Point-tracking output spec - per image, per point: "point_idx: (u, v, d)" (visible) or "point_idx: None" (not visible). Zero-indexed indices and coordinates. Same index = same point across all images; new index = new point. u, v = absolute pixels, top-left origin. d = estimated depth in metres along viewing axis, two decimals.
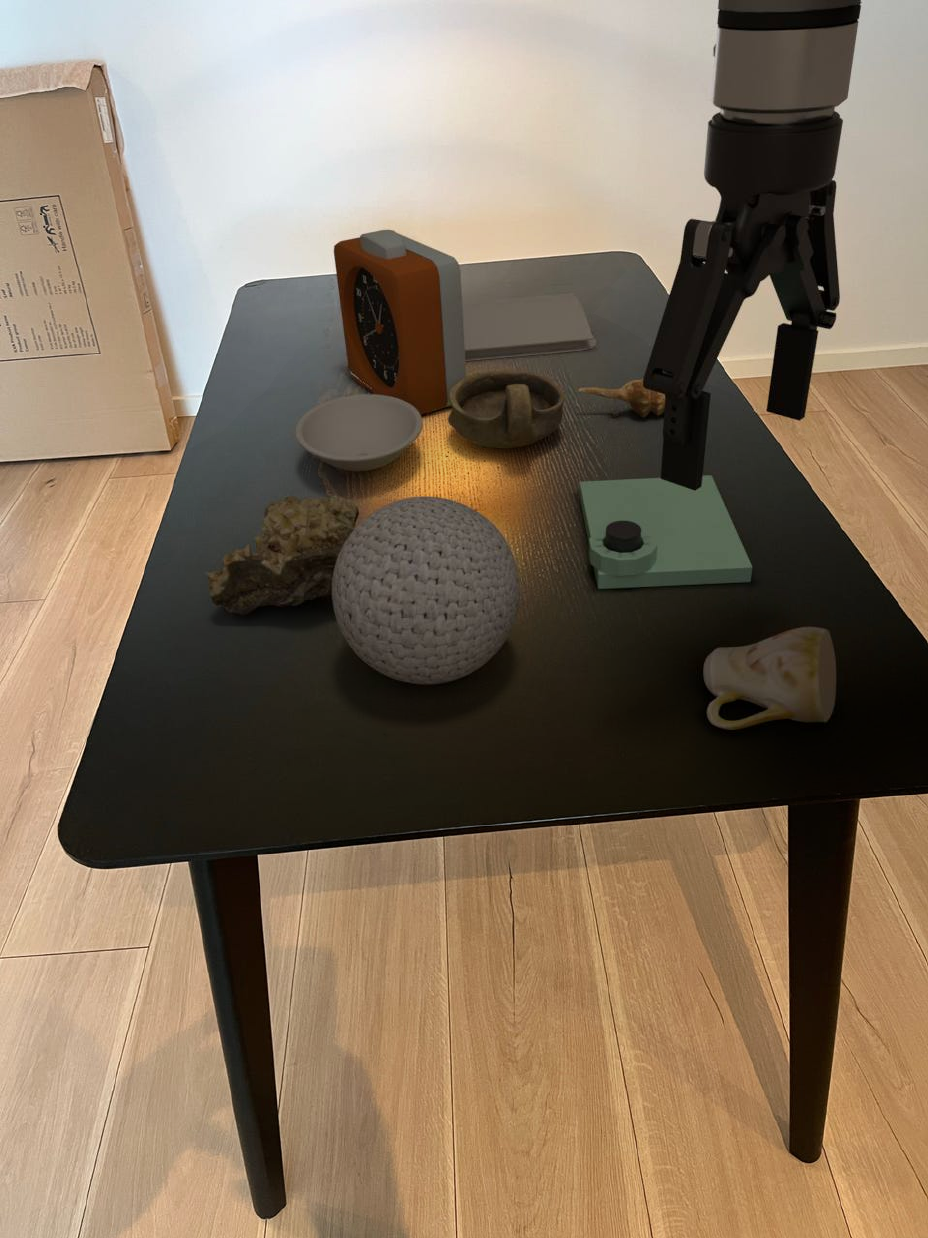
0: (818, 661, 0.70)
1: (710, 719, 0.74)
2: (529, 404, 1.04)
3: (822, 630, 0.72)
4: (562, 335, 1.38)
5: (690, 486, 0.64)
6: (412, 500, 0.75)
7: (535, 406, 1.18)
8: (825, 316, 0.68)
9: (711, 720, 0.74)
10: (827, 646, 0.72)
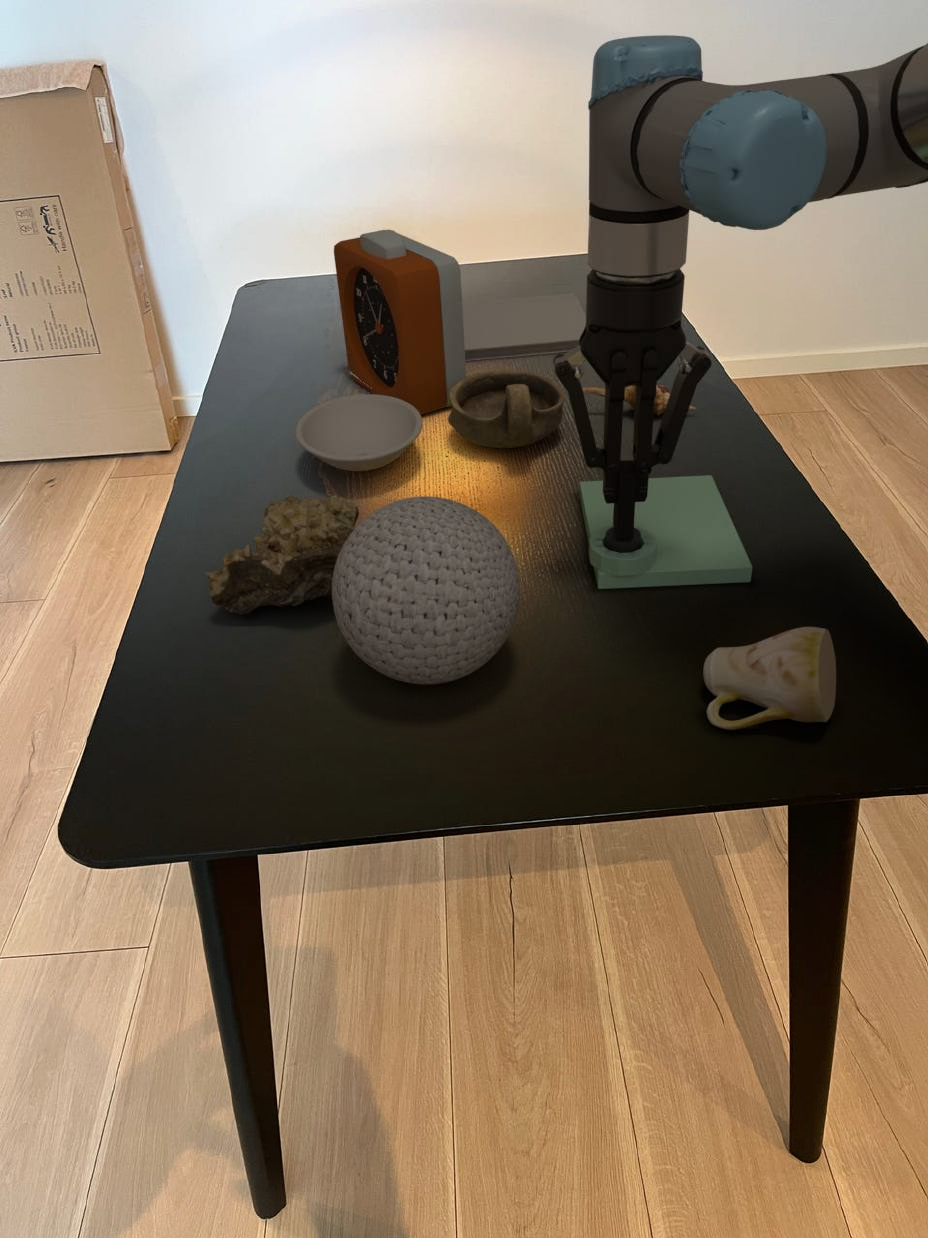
0: (818, 661, 0.70)
1: (710, 719, 0.74)
2: (529, 404, 1.04)
3: (822, 630, 0.72)
4: (562, 335, 1.38)
5: (616, 535, 0.88)
6: (412, 500, 0.75)
7: (535, 406, 1.18)
8: (645, 466, 0.84)
9: (711, 720, 0.74)
10: (827, 646, 0.72)
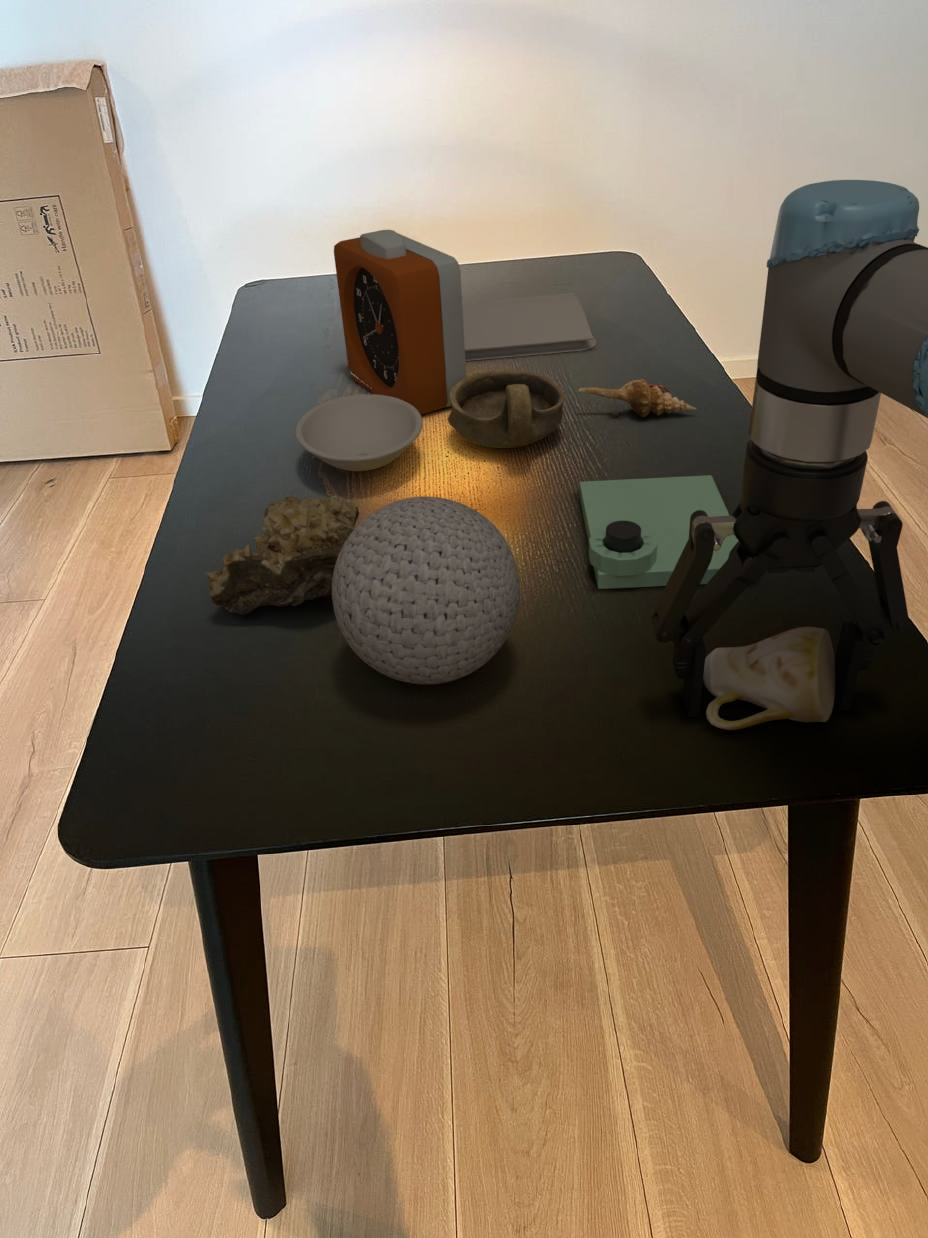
0: (817, 661, 0.70)
1: (709, 719, 0.74)
2: (529, 404, 1.04)
3: (821, 630, 0.72)
4: (562, 335, 1.38)
5: (688, 712, 0.75)
6: (412, 500, 0.75)
7: (535, 406, 1.18)
8: (876, 634, 0.70)
9: (710, 720, 0.74)
10: (826, 646, 0.73)
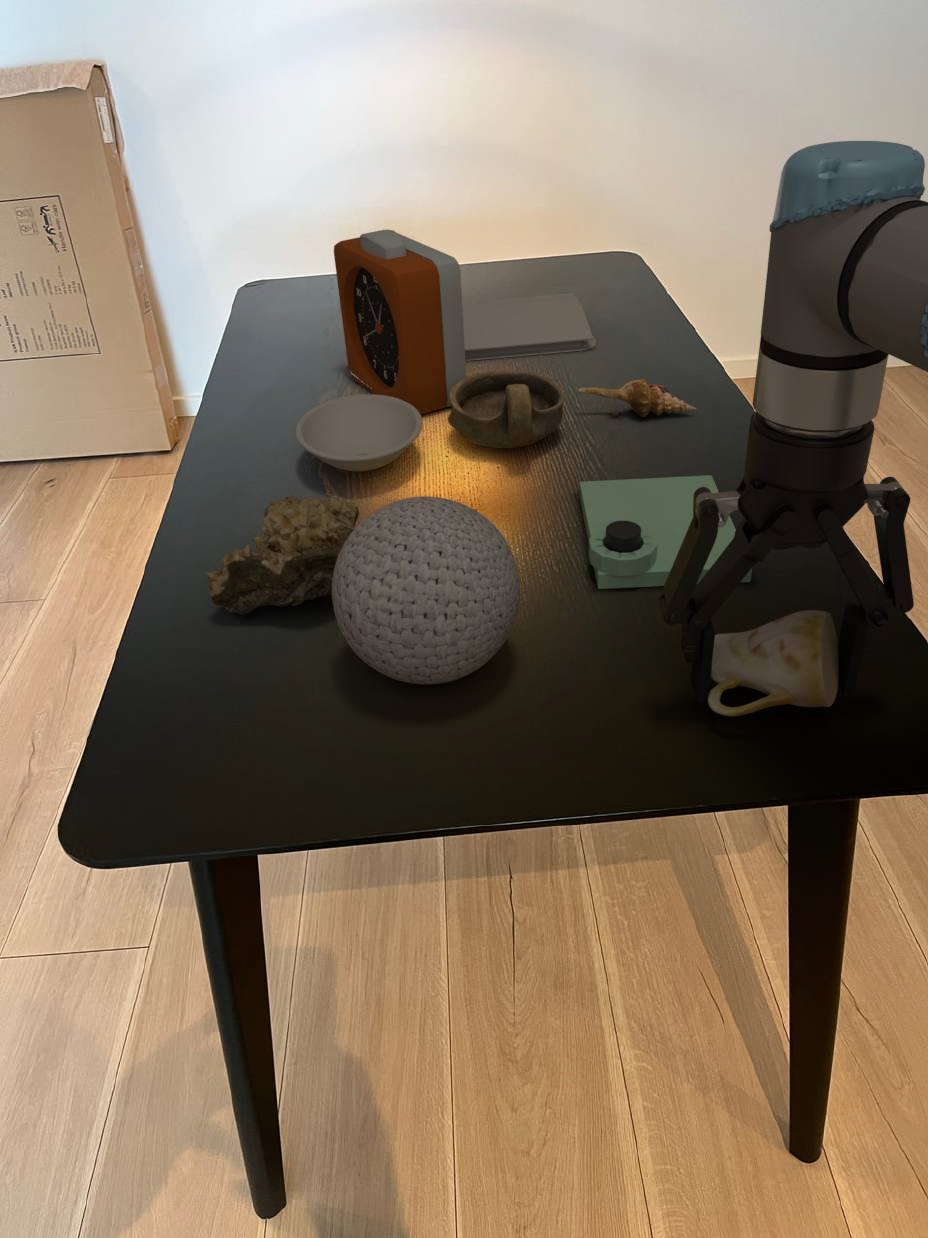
0: (821, 643, 0.68)
1: (711, 706, 0.73)
2: (529, 404, 1.04)
3: (824, 613, 0.70)
4: (562, 335, 1.38)
5: (696, 697, 0.74)
6: (412, 500, 0.75)
7: (535, 406, 1.18)
8: (880, 615, 0.69)
9: (712, 707, 0.73)
10: (829, 629, 0.71)
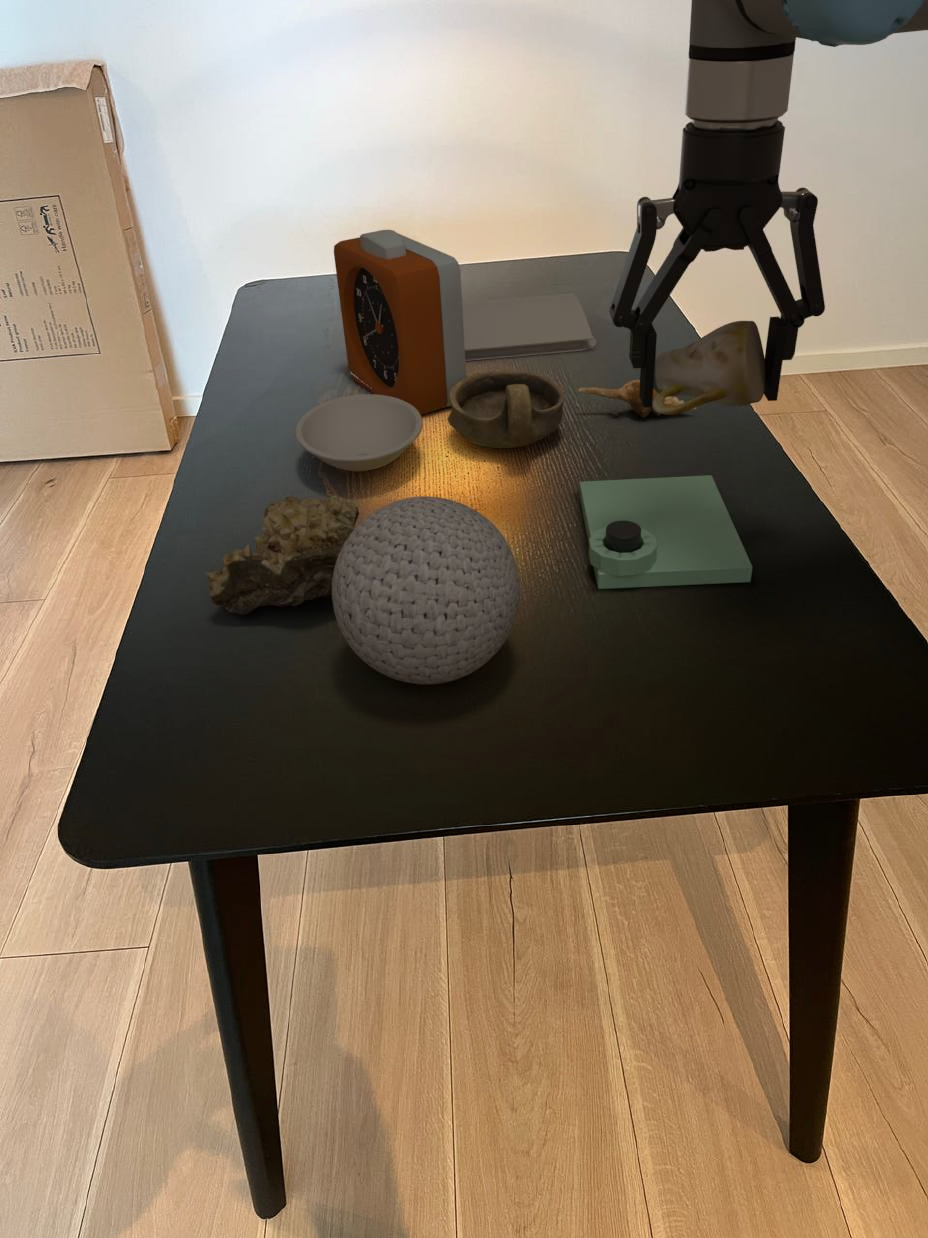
0: (746, 339, 0.80)
1: (655, 407, 0.85)
2: (529, 404, 1.04)
3: None
4: (562, 335, 1.38)
5: (643, 403, 0.86)
6: (412, 500, 0.75)
7: (535, 406, 1.18)
8: (797, 318, 0.81)
9: (656, 408, 0.85)
10: (755, 337, 0.83)
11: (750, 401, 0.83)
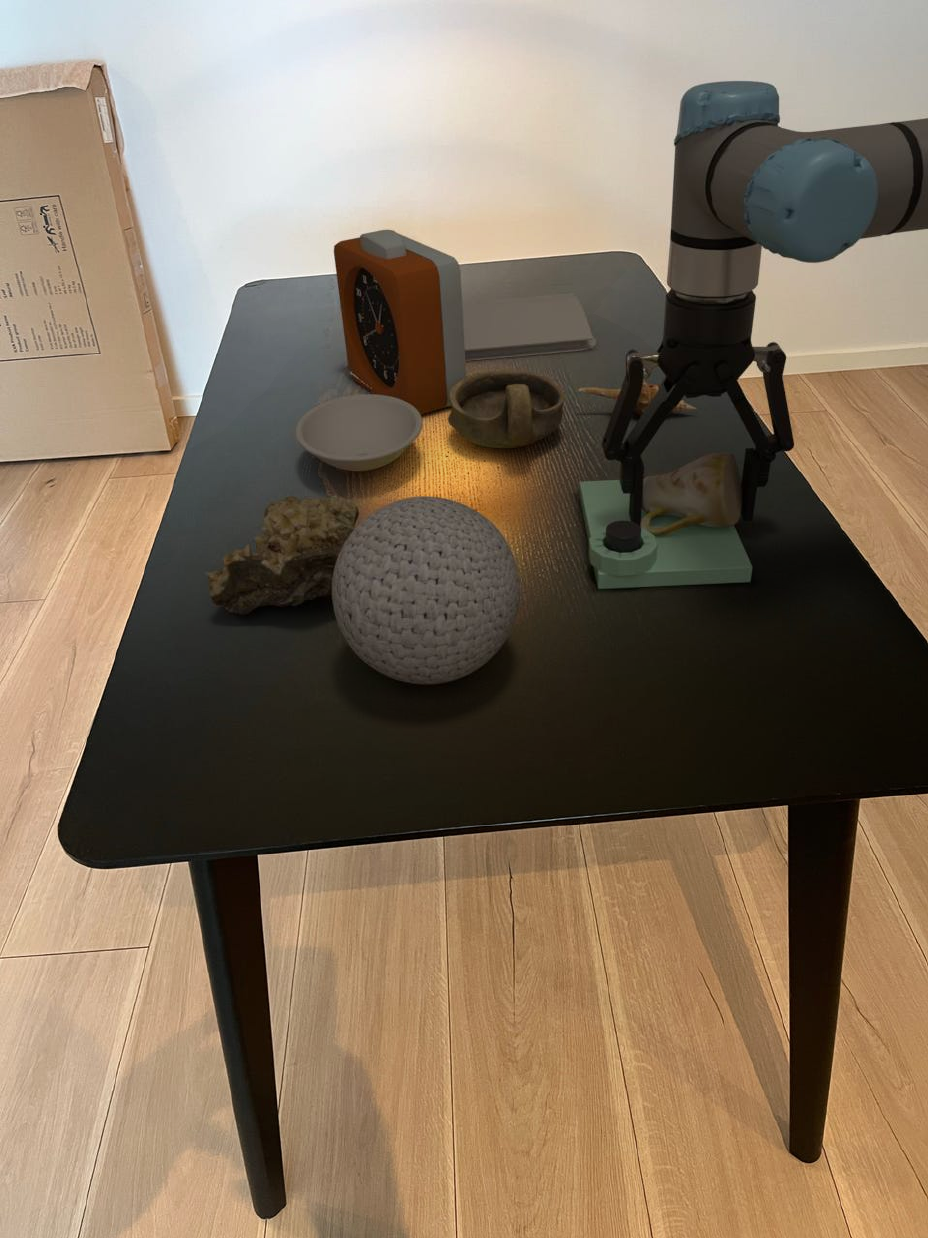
0: (723, 473, 0.90)
1: (643, 528, 0.94)
2: (529, 404, 1.04)
3: (728, 453, 0.92)
4: (562, 335, 1.38)
5: None
6: (412, 500, 0.75)
7: (535, 406, 1.18)
8: (769, 453, 0.90)
9: (643, 528, 0.94)
10: (732, 467, 0.93)
11: (728, 525, 0.92)
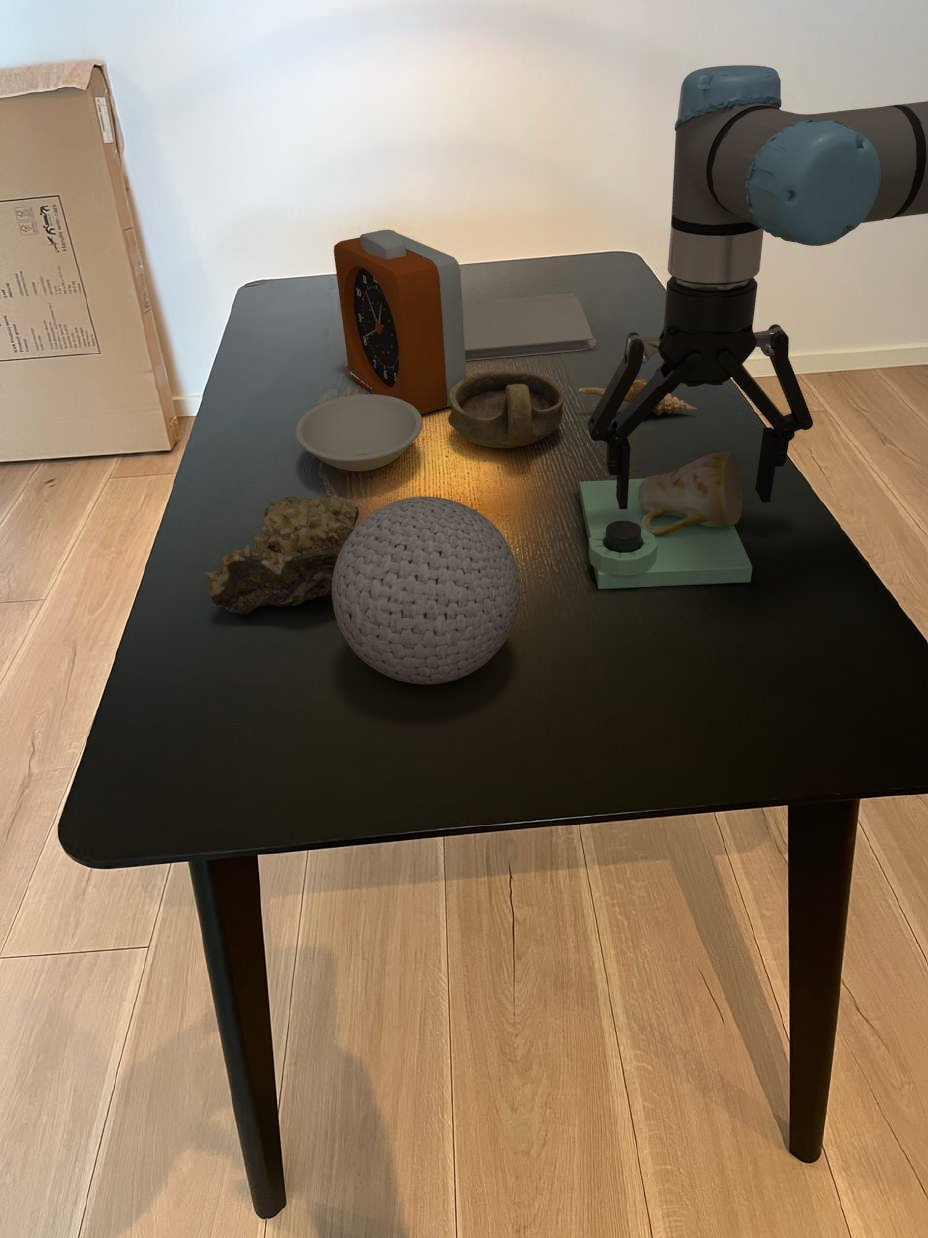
0: (724, 473, 0.90)
1: (643, 528, 0.94)
2: (529, 404, 1.04)
3: (728, 453, 0.92)
4: (562, 335, 1.38)
5: (619, 505, 0.94)
6: (412, 500, 0.75)
7: (535, 406, 1.18)
8: (787, 431, 0.89)
9: None
10: (733, 467, 0.93)
11: (728, 525, 0.92)
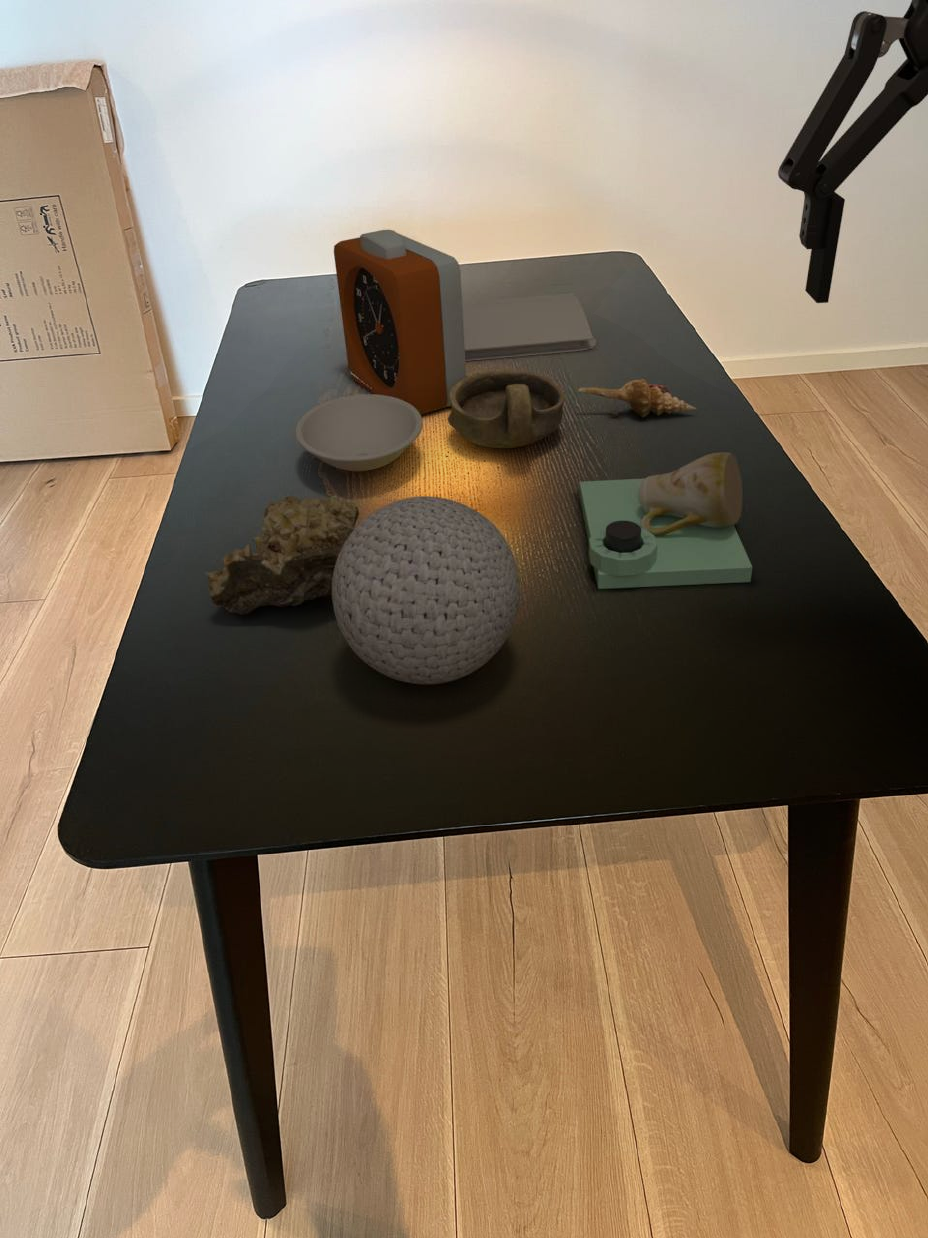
0: (724, 473, 0.90)
1: (643, 528, 0.94)
2: (529, 404, 1.04)
3: (728, 453, 0.92)
4: (562, 335, 1.38)
5: (815, 298, 0.65)
6: (412, 500, 0.75)
7: (535, 406, 1.18)
8: None
9: None
10: (733, 467, 0.93)
11: (728, 525, 0.92)
